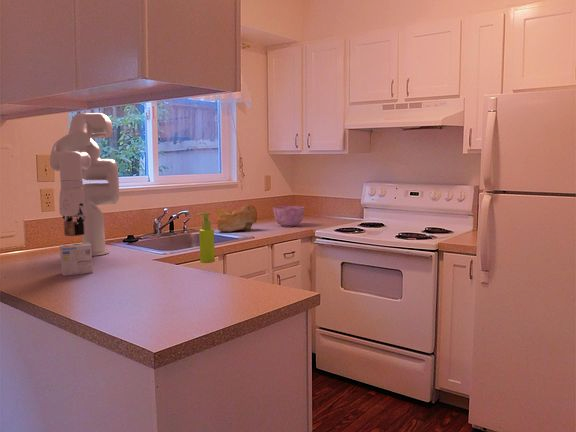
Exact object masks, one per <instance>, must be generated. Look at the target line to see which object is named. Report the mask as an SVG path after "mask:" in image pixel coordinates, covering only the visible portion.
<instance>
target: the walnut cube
mask: <svg viewBox="0 0 576 432" xmlns="http://www.w3.org/2000/svg"><path fill="white" fill-rule="evenodd" d="M74 224H76V223H75V220H73V221H69V222H64V221H63V232H64V236H66V237H78V236H80V235H75V225H74ZM83 231H84V234H82V235H85V230H84V223H83ZM82 235H81V236H82Z"/></svg>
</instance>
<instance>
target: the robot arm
mask: <svg viewBox="0 0 576 432" xmlns="http://www.w3.org/2000/svg"><path fill="white" fill-rule="evenodd" d="M70 121H71V122H70V126H69V130H68V132H67V134H66V135H63V136H62V137H61V138H59V139H58V140H57V141H55V142H54V144H53V145H52V148H51V151H50V155H49V164H50V165H49V166H50V167H51V169H52V170H53V171H55V172H59V176H60V177H59V178H60V179H59V180H60V191H59V198H58V199H59V205H58V206H59V214H60V215H61V217H62V219H63V220H64V221H63V223H64V222H69V221H75V223H76V224H74V225H75V235H79V236H81V239H82V241H81V243H90V244H91V249H92V257H93V256H94V257H95V256H102V255H106V254H110V249H108V248H107V249H106V238H105V237H106V235H105V234H106V233H105V232H106V231H105V220H104V219H105V218H104V213H103V211H102V209H100V208H99V206H103V205H115V204H117V203H119V201H120V183H119V182H120V181H119V179H120V178H119V167H118V164H117V161H116V160H115V159H112V158H101V150H100V149H101V148H100V146H99V145H98V144H97V142H96V141H94V139H108V138H109V139H110V137H112V135H113V131H114V128H113V123H112V121H111V119H110V117H108V116H107V115H106V114H104V113H101V112H95V113H94V112H91V113H89V112H84V113H83V112H81V113H77V114H75V115H74V116H73V117H72V118H71V120H70ZM83 180H85V181H107V182H103V183H101V182H100V183H99V182H98V183H97V182H96V183H92V182H91V183H83ZM83 223H84V230H85V235H82V234H84V231H83Z"/></svg>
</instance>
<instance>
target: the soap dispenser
mask: <svg viewBox="0 0 576 432" xmlns="http://www.w3.org/2000/svg"><path fill="white" fill-rule="evenodd" d="M195 215H196V216H197V217H198V216H203V220H202V221H201V229H199V230H198V232H199V233H198V234H199V240H198V241H199V259H200V261H199V262H200V263H201V264H211V263H215V261H216V259H215V258H216V257H215V255H216V254H215V230H214V229H213V228H211V227H212V226H211V225H212V223H211V220H209V216H210V215H211V213H210V212H199V213H196V214H195Z"/></svg>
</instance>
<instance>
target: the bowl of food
mask: <svg viewBox="0 0 576 432" xmlns="http://www.w3.org/2000/svg"><path fill="white" fill-rule="evenodd" d="M305 210H306V207H305V206H301V205H278V206H273V207H272V212H273V215H274V219H275V222H276V223H277V224H279V225H280V226H282V227H286V228H294V227H296V226H297V225H299V224H300V223H302V221H303V219H304V215H305Z"/></svg>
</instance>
